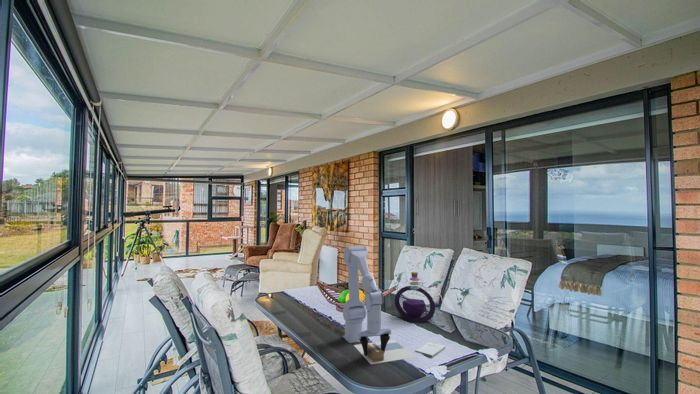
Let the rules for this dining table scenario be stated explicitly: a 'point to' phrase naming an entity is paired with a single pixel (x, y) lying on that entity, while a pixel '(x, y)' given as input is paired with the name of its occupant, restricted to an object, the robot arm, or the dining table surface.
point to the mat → (388, 352)
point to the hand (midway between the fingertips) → (374, 353)
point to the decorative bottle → (414, 303)
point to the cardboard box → (375, 353)
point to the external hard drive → (430, 349)
